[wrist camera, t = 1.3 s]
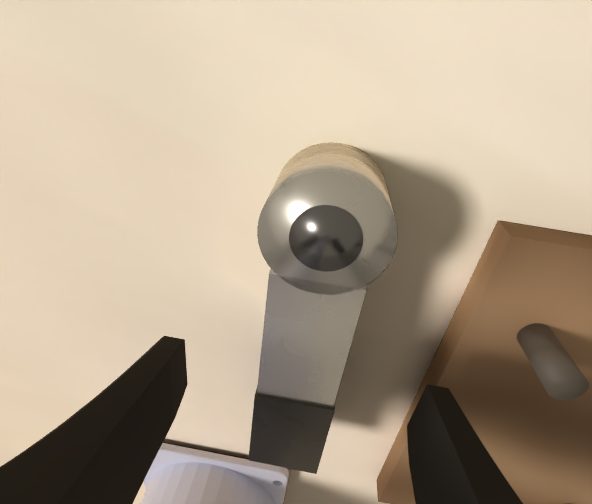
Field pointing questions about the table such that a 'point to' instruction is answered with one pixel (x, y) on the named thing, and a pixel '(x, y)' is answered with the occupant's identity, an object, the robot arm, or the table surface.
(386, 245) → the lever door handle
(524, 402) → the tool board
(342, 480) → the table surface
